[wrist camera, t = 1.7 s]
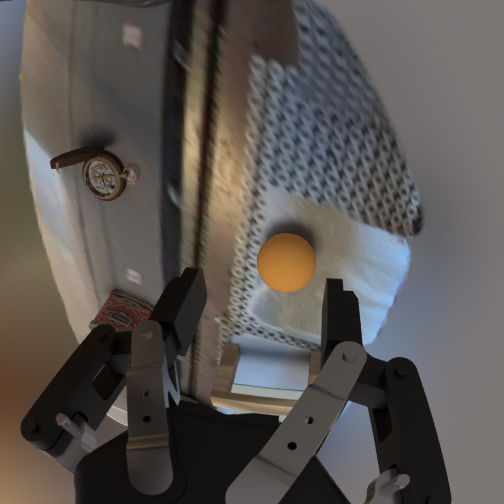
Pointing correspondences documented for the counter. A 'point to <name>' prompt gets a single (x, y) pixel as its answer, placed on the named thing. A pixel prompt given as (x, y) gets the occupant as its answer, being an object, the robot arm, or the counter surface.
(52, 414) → the robot arm
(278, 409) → the bridge
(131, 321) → the lighter
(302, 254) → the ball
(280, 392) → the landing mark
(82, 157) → the compass
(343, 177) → the counter surface
